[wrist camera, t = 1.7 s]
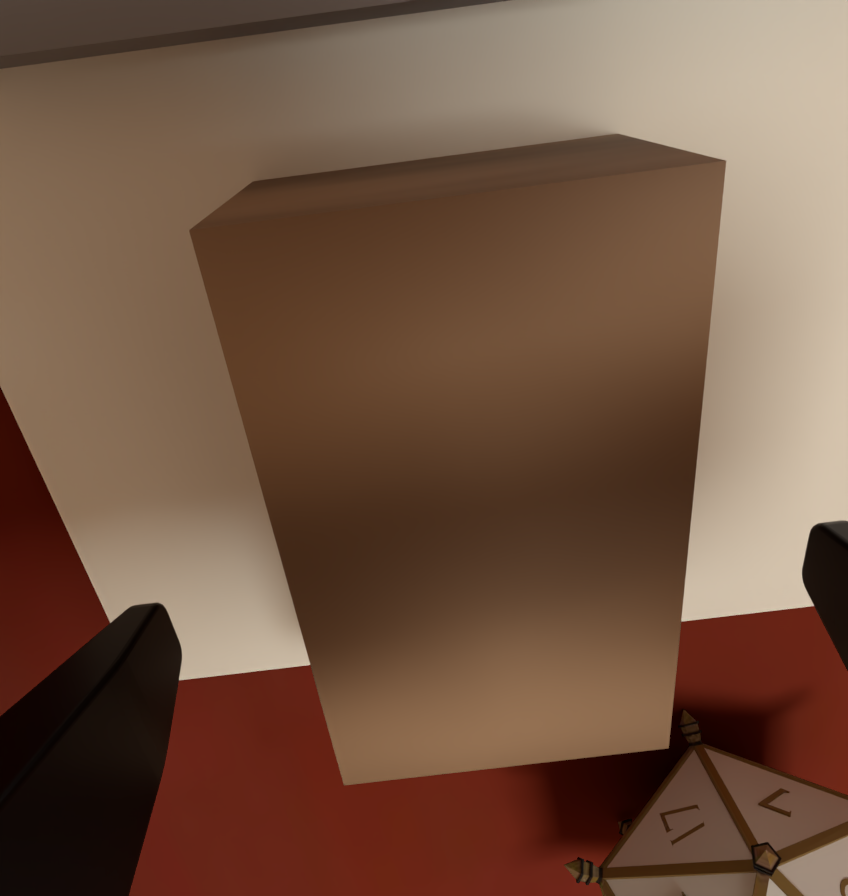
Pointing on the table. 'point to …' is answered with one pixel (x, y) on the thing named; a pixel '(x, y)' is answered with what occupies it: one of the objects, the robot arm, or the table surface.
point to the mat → (374, 143)
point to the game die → (728, 833)
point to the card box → (478, 438)
